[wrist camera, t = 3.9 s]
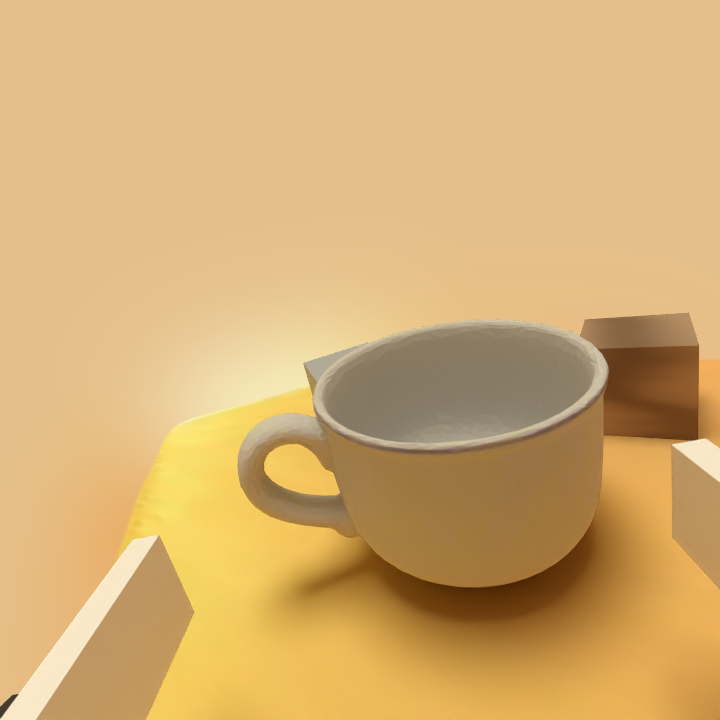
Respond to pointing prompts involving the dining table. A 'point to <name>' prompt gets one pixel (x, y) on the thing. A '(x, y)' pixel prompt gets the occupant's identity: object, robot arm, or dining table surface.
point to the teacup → (451, 449)
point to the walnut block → (648, 375)
